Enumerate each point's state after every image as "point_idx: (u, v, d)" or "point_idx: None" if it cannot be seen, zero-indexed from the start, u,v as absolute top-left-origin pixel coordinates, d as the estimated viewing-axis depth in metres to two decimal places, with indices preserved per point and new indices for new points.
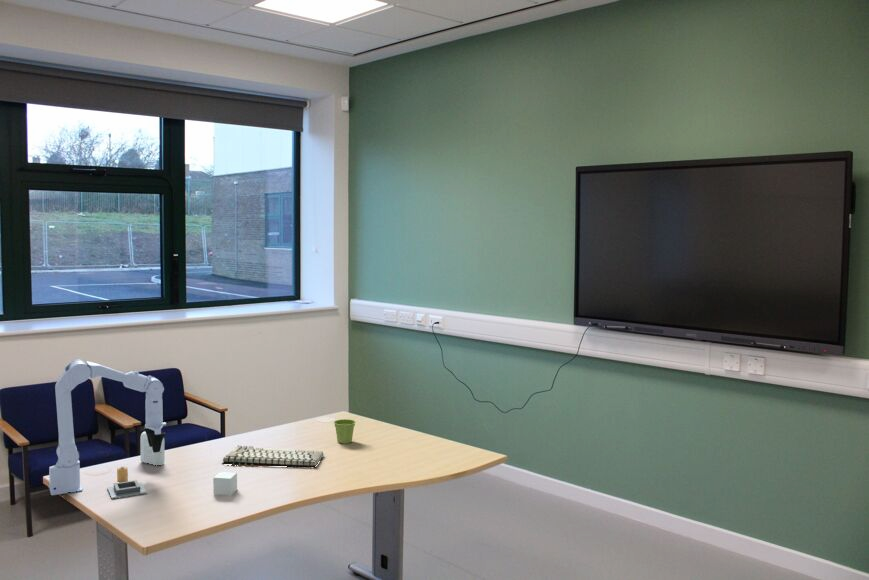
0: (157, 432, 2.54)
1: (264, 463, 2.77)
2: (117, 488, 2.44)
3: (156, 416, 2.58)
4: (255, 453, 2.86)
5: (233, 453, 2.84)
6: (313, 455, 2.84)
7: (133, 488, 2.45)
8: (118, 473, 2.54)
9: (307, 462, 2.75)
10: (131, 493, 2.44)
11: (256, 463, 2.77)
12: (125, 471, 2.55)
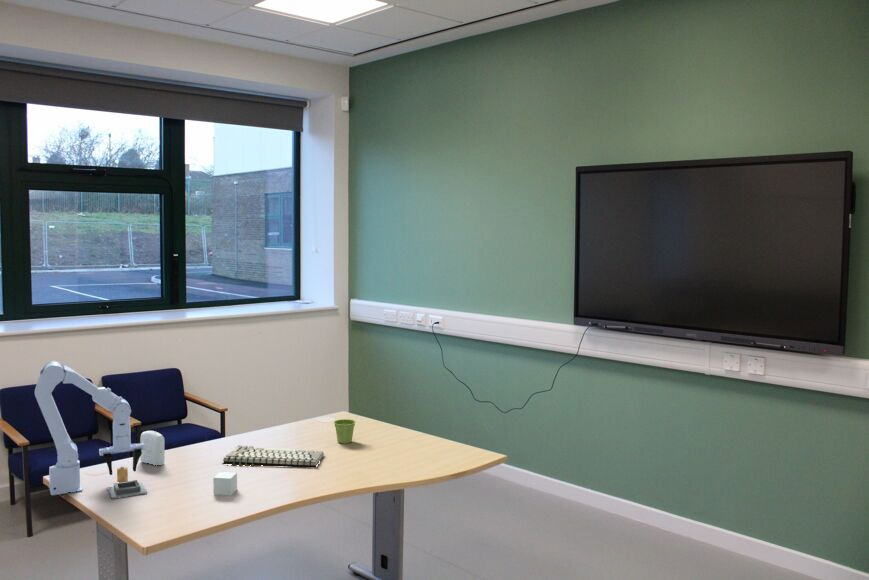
0: (99, 453, 2.51)
1: (264, 463, 2.77)
2: (117, 488, 2.44)
3: (113, 438, 2.53)
4: (255, 453, 2.86)
5: (233, 453, 2.84)
6: (313, 455, 2.84)
7: (133, 488, 2.45)
8: (118, 473, 2.54)
9: (307, 462, 2.76)
10: (131, 493, 2.44)
11: (256, 463, 2.77)
12: (125, 471, 2.55)
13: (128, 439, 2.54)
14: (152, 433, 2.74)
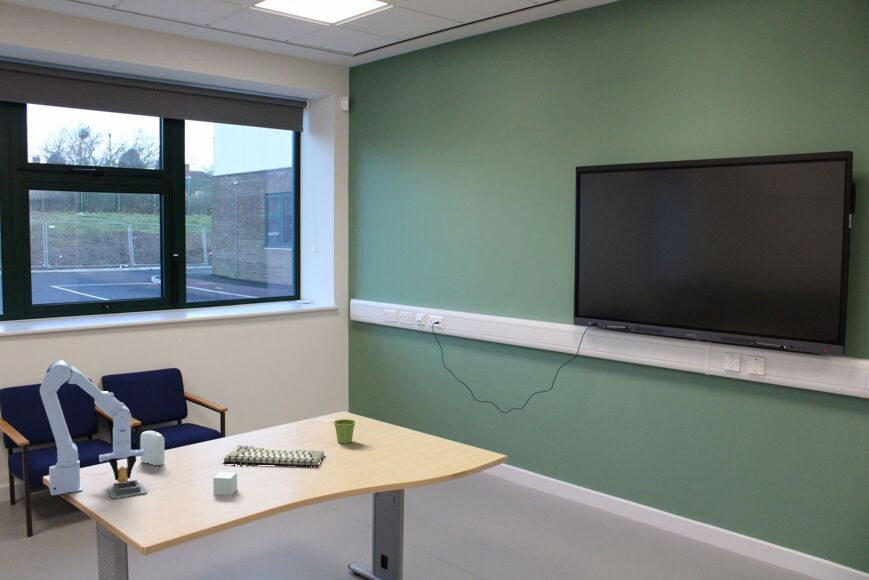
0: (99, 459, 2.51)
1: (265, 463, 2.77)
2: (117, 488, 2.44)
3: (113, 444, 2.53)
4: (256, 453, 2.87)
5: (234, 453, 2.84)
6: (314, 455, 2.84)
7: (133, 488, 2.45)
8: (118, 473, 2.54)
9: (308, 462, 2.76)
10: (131, 493, 2.44)
11: (257, 463, 2.77)
12: (125, 471, 2.55)
13: (128, 445, 2.54)
14: (152, 433, 2.74)
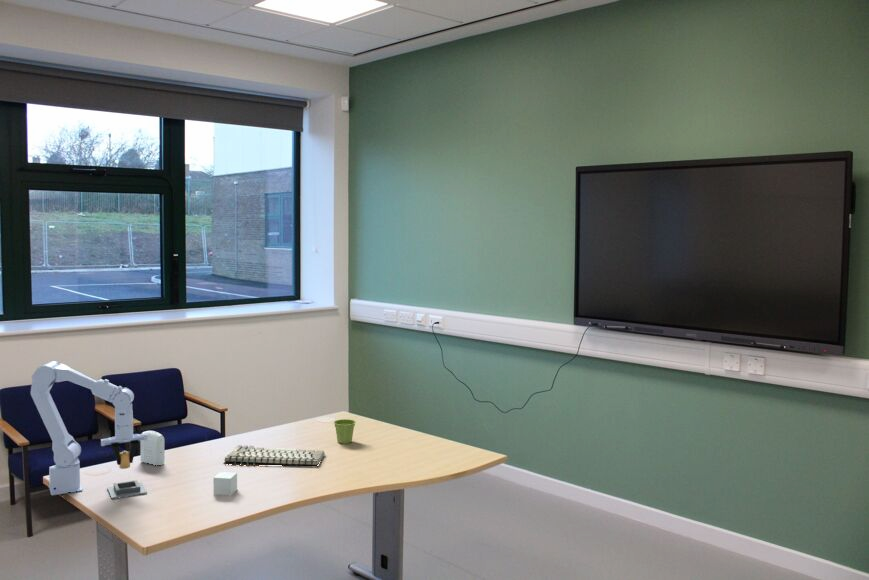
0: (101, 443, 2.46)
1: (266, 462, 2.77)
2: (117, 488, 2.44)
3: (115, 428, 2.48)
4: (256, 453, 2.87)
5: (234, 453, 2.84)
6: (314, 454, 2.85)
7: (133, 488, 2.45)
8: (120, 457, 2.49)
9: (309, 461, 2.77)
10: (131, 493, 2.44)
11: (258, 463, 2.77)
12: (127, 455, 2.50)
13: (130, 429, 2.49)
14: (152, 433, 2.74)
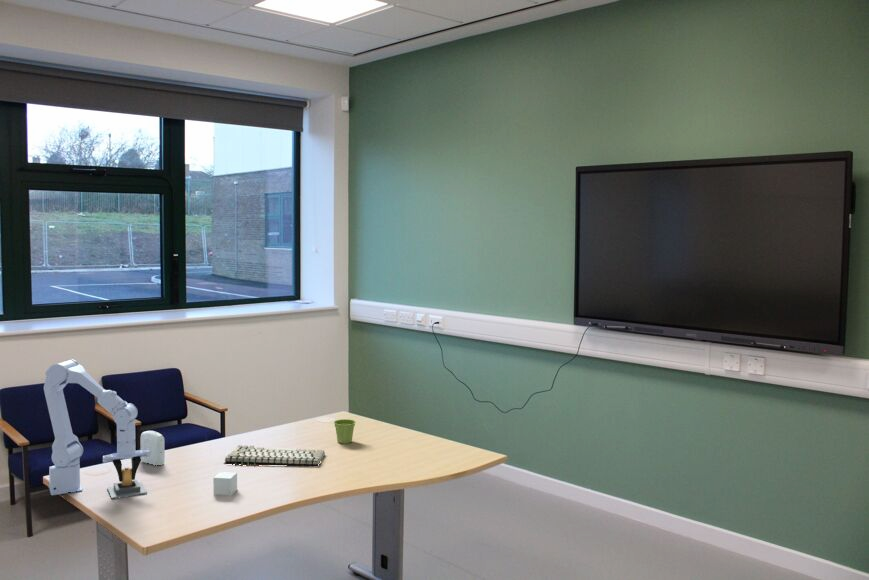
0: (103, 459, 2.43)
1: (266, 462, 2.77)
2: (117, 488, 2.44)
3: (117, 444, 2.44)
4: (256, 452, 2.87)
5: (234, 453, 2.84)
6: (315, 454, 2.85)
7: (133, 488, 2.45)
8: (122, 474, 2.45)
9: (310, 461, 2.77)
10: (131, 493, 2.44)
11: (258, 462, 2.78)
12: (129, 472, 2.46)
13: (133, 445, 2.45)
14: (152, 433, 2.74)
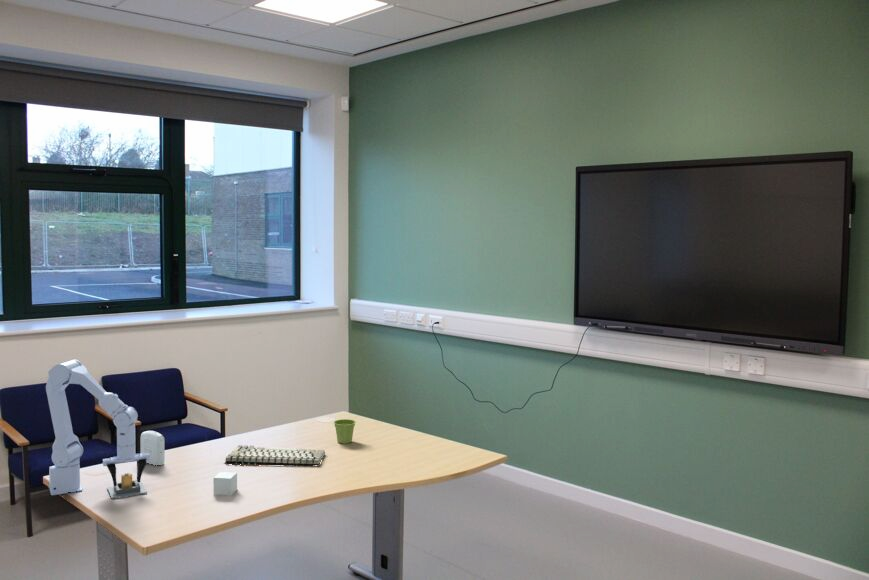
0: (103, 463, 2.43)
1: (267, 462, 2.78)
2: (117, 488, 2.44)
3: (117, 448, 2.44)
4: (257, 452, 2.87)
5: (235, 453, 2.84)
6: (315, 454, 2.86)
7: (133, 488, 2.45)
8: (122, 480, 2.45)
9: (310, 461, 2.77)
10: (131, 493, 2.44)
11: (259, 462, 2.78)
12: (129, 478, 2.46)
13: (133, 449, 2.45)
14: (152, 433, 2.74)
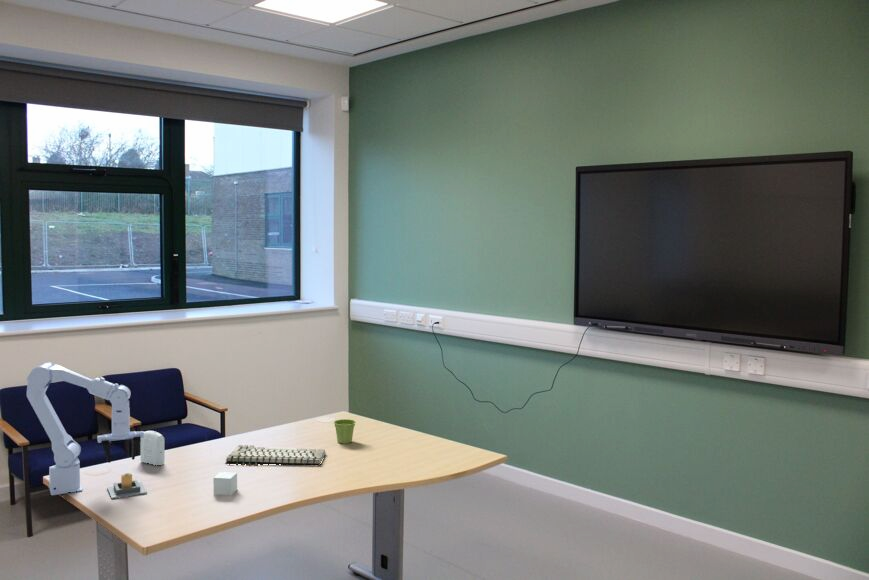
0: None
1: (268, 462, 2.78)
2: (117, 488, 2.44)
3: (112, 425, 2.48)
4: (257, 452, 2.87)
5: (235, 453, 2.84)
6: (316, 453, 2.86)
7: (133, 488, 2.45)
8: (122, 480, 2.45)
9: (311, 460, 2.78)
10: (131, 493, 2.44)
11: (260, 462, 2.78)
12: (129, 478, 2.46)
13: (127, 426, 2.49)
14: (152, 433, 2.74)
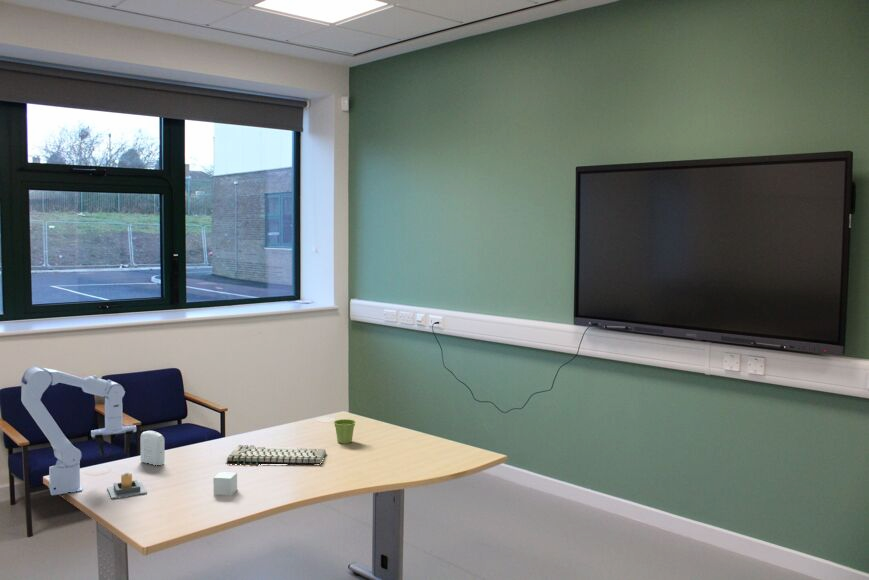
0: (91, 434, 2.53)
1: (269, 462, 2.78)
2: (117, 488, 2.44)
3: (105, 420, 2.55)
4: (258, 452, 2.88)
5: (236, 452, 2.84)
6: (316, 453, 2.87)
7: (133, 488, 2.45)
8: (122, 480, 2.45)
9: (312, 460, 2.78)
10: (131, 493, 2.44)
11: (261, 462, 2.78)
12: (129, 478, 2.46)
13: (120, 421, 2.55)
14: (152, 433, 2.74)
